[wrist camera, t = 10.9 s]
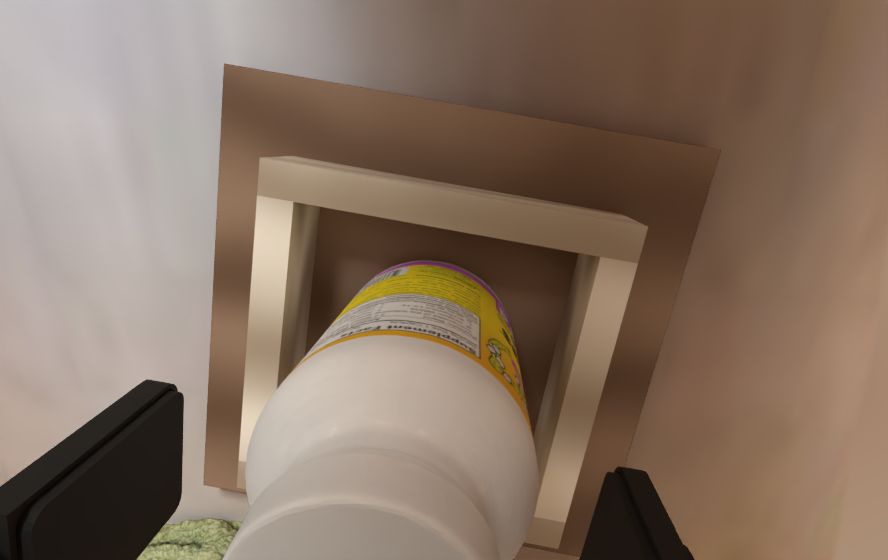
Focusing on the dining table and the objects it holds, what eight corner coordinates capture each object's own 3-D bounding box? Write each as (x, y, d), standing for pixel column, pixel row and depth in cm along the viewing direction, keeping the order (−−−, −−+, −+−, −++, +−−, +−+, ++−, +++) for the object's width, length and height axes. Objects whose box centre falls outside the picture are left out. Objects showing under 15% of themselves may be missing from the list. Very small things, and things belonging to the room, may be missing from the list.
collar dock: (237, 67, 19) (176, 48, 15) (708, 149, 19) (768, 150, 15) (214, 471, 24) (163, 533, 20) (590, 542, 24) (612, 620, 20)
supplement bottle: (490, 425, 21) (506, 819, 9) (336, 390, 21) (137, 730, 9) (531, 275, 19) (623, 502, 7) (363, 237, 19) (161, 395, 7)
